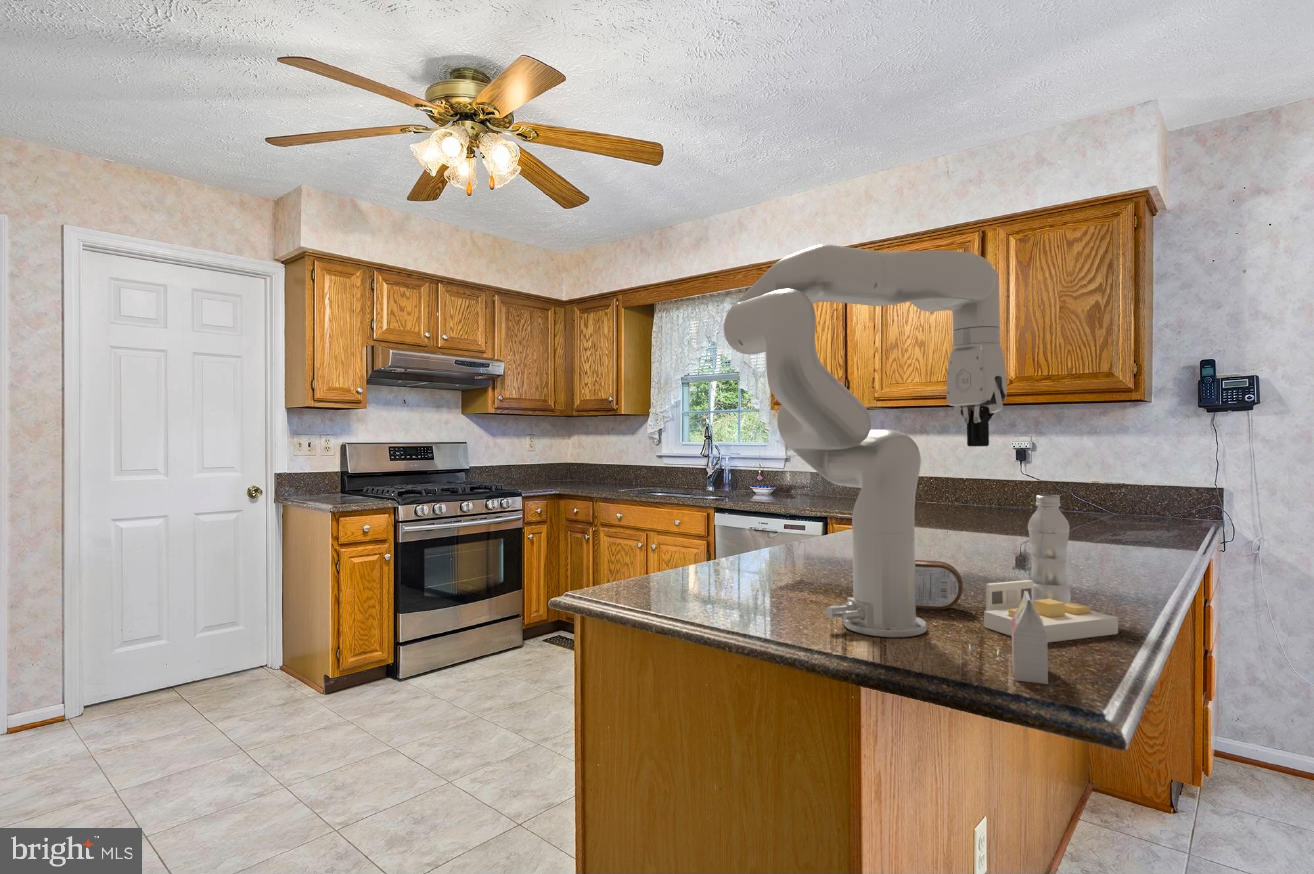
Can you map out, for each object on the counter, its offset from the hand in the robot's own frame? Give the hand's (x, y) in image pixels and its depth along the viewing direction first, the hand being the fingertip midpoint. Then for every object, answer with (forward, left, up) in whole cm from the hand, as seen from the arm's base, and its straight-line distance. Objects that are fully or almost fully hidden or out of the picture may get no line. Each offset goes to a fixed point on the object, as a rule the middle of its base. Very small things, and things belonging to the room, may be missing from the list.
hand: (978, 446), depth 123 cm
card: (+1, -5, -29) cm, 29 cm away
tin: (-8, +7, -29) cm, 31 cm away
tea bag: (-18, -28, -29) cm, 44 cm away
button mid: (+1, -13, -27) cm, 31 cm away
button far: (+6, -13, -28) cm, 32 cm away
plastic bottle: (+12, -3, -29) cm, 31 cm away
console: (+1, -13, -29) cm, 32 cm away
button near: (-4, -13, -29) cm, 32 cm away
